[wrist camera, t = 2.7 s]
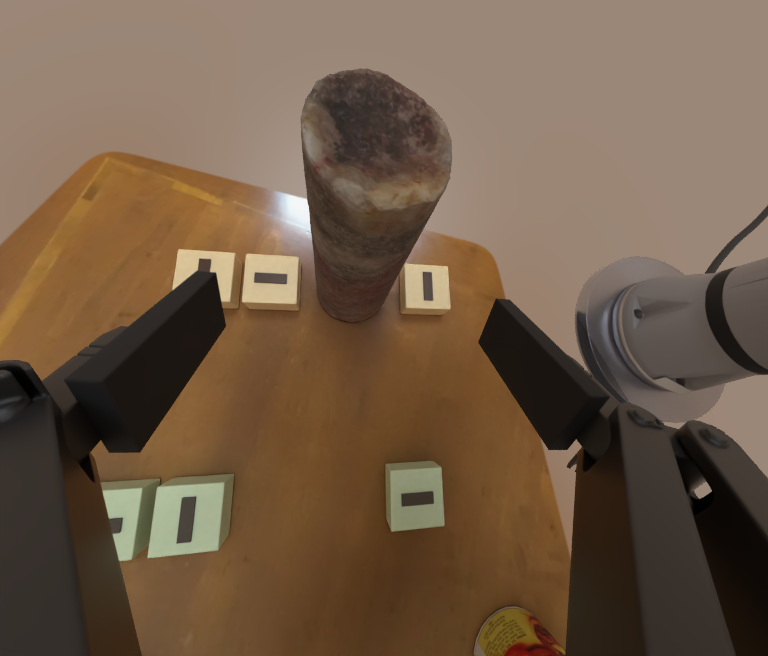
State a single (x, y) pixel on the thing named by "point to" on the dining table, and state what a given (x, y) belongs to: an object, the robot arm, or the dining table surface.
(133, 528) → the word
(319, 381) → the dining table surface
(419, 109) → the brown rough cylinder
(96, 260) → the dining table surface
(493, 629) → the canned food
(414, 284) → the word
